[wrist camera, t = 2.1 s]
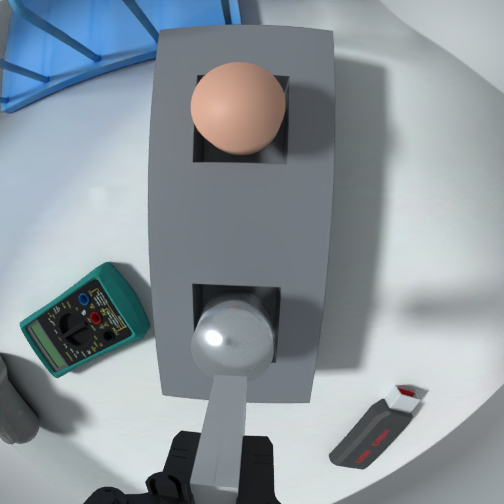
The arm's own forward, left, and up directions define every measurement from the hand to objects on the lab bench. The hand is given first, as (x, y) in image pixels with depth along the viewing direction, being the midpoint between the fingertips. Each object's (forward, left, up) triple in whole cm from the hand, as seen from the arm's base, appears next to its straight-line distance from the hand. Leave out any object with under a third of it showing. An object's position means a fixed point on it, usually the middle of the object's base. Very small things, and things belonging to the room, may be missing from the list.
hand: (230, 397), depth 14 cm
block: (-6, +4, -13) cm, 15 cm away
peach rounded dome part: (-11, +9, -8) cm, 16 cm away
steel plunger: (0, 0, -8) cm, 8 cm away
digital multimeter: (-8, -15, -13) cm, 21 cm away
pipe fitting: (-8, -35, -13) cm, 38 cm away
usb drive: (+22, +2, -13) cm, 26 cm away
